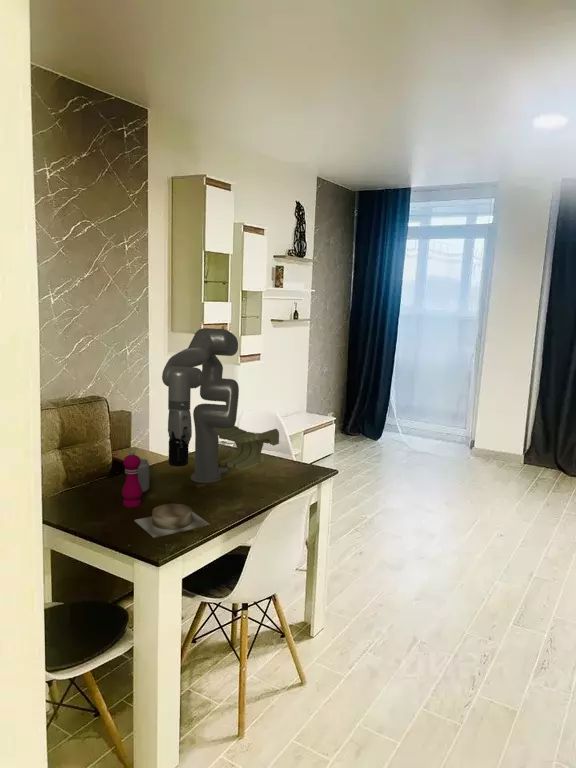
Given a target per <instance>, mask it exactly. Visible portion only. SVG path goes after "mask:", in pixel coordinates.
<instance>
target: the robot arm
mask: <svg viewBox="0 0 576 768" xmlns="http://www.w3.org/2000/svg"><path fill="white" fill-rule="evenodd" d="M238 350H239V341H238V338H237V337H236V336H235V334H234V333H232V331H230V330H229V329H224V328H211V327H210V328H209V327H208V328H207V327H202V328H200V329H197V331H196V332H195V333H194V335H193V337H192V340H191V341H190V343H189V345H188V347H187V348H185V349H182V350H181V351H179V352H177V353H175V354H173V355H171V356H170V357H169V359H167V362H166V364H165V366H164V368H163V369H162V370H163V371H162V374H161V379H162V383H163V384H164V385H165V386H166V387H168V397H167V400H168V401H167V403H168V405H167V408H168V417H167V433H168V438H169V439H168V441H169V440H170V439H171V438H172V436H171V435H172V431H173V433H174V436H175V438H177V439H179V444H180V447H179V459H183V458H188V459H189V448H190V447H189V445H190V442H191V439H192V434H193V432H192V431H193V429H192V427H193V426H192V417H193V424H194V431H195V432H194V440H195V442H194V473H192V474H191V475H190V480H191V481H192V482H195V483H198V484H213V483H217V482H220V481H221V480H222V479H223V478H222V473H228V472H229V467H223V466H220V467H219V443H220V442H219V441H220V438H219V436H218V435H217V433H216V431H215V430H214V428H232V427H234V426H236V422H237V415H238V408H239V407H238V406H239V395H240V394H239V393H240V392H239V391H240V389H239V388H240V387H239V384H238V382H237V380H235V379H233V378H223V374H224V373H223V371H224V366H223V364H222V362H221V360H220V359H219V358H218V357H217V356H225V357H232V356H235V355H236V354H237V352H238ZM199 366H201V369H200V368H198V367H199ZM197 388H199V396H200V398H201V399H202V400H204V401H209V402H223V403H225V404H217V403H200V404H197V405H196V406H195V407H194V408H193V412H192V413H193V414H191V392H192V391H191V389H197ZM192 415H193V416H192ZM181 437H185V438H181ZM182 440H185V441H183V443H182Z"/></svg>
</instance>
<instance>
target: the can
mask: <svg viewBox="0 0 576 768" xmlns="http://www.w3.org/2000/svg"><path fill="white" fill-rule="evenodd" d="M140 461H141V464H140V466H139V467H138V468H139V473H138V481H139V484H140V486H141V488H142V494H143V493H146V492H147V491H148V490H149V489H150V463H149V461H148V459H145V458H140Z"/></svg>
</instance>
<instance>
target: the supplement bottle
mask: <svg viewBox="0 0 576 768" xmlns="http://www.w3.org/2000/svg"><path fill="white" fill-rule="evenodd" d="M171 436H172V438H171V439H170V440H169V439H168V464H169V465H170V466H171V467H185V466H187V465H189V457H188V458H183V459H179V447H180V444H179V439H177V438H175V436H174V433H173V431H172V435H171ZM181 438H185V437H181ZM183 441H185V440H182V443H183Z"/></svg>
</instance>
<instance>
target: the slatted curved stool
mask: <svg viewBox="0 0 576 768" xmlns="http://www.w3.org/2000/svg"><path fill="white" fill-rule="evenodd" d="M214 430H215V431H216V433H217V435H218V438H219V440H220V439H221V440H225V441H226V440H227V441H230V442H234V444H235V446H236V451H235V453H234V454H232V455H231V456H229V457H227V458H225V459H223V460H220V461H219V462H218V465H219V464H220V465H219V466H222V465H227V466H229V467H228V468H230V467H235V468H238V469H244V468H246V467H249V466H251V465H254V464H256V463H259V462H260V463H261V457H262V452H263V447H264V444H269V445H271V446H276V445H279V444H280V432H279V431H280V430H278V429H277V428H273V429H270V430H267V431H264V432H263V431H262V432H257V433H255V432H251V431H247V430H244V429H242V428H239V426H237V425H234V427H232V428H214ZM260 463H259V464H260ZM227 466H226V467H227ZM235 468H234V469H235ZM249 468H250V467H249ZM238 469H237V470H238ZM244 470H245V469H244Z"/></svg>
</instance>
